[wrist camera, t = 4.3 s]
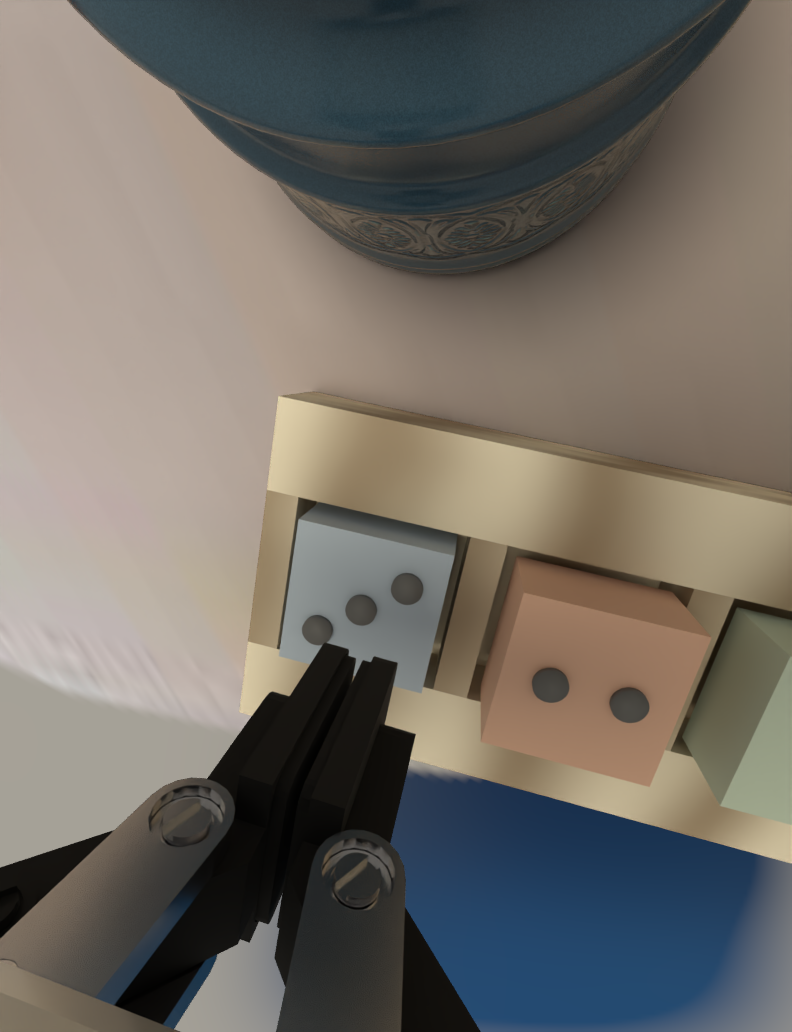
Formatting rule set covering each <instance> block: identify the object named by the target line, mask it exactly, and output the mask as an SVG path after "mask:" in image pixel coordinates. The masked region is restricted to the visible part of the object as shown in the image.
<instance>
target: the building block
mask: <svg viewBox="0 0 792 1032" xmlns="http://www.w3.org/2000/svg"><path fill="white" fill-rule="evenodd" d="M457 535H458V534H456V533H452V532H447V531H443V530H439V529H434V528H430V527H426V526H421V525H417V524H413V523H408V522H404V521H400V520H395V519H391V518H387V517H382V516H378V515H374V514H370V513H365V512H361V511H357V510H352V509H348V508H344V507H339V506H335V505H331V504H326V503H322V502H319V503H318V504H316V505H315V506H314V507H313V508H312V509H310V510H309V511H308V512H307V513H305V514H304V515H303V516H302V517H301V518H299V520H298V527H297V534H296V541H295V548H294V555H293V562H292V569H291V575H290V582H289V589H288V596H287V603H286V610H285V617H284V624H283V631H282V637H281V644H280V651H279V656H280V657H284V658H288V659H291V660H295V661H299V662H303V663H307V664H311V662H312V661H313V659H314V657H315V656H316V654H317V653H318V651H319V650H320V648H321V647H322V645H323V644H324V643H325V642H326V643H329V644H333V645H337V646H340V647H344V648H347V649H349V656H351V657H354V658H356V664H355V669H354V674H353V676H355V675H356V673H357V671H358V669H359V667H360V665H361V662H362V661H363V660H365V661H369V662H371V661H372V659H373V657H374V656H376V657H379V658H383V659H386V660H390V661H394V662H397V663H398V666H397V671H396V676H395V680H394V685H393V686H395V687H398V688H402V689H406V690H410V691H414V692H418V693H422V689H423V685H424V681H425V677H426V673H427V668H428V664H429V660H430V656H431V652H432V648H433V644H434V639H435V635H436V631H437V627H438V623H439V619H440V615H441V610H442V606H443V602H444V598H445V594H446V590H447V586H448V582H449V577H450V573H451V569H452V565H453V561H454V557H455V550H456V543H457Z"/></svg>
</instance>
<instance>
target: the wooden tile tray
mask: <svg viewBox="0 0 792 1032" xmlns="http://www.w3.org/2000/svg"><path fill="white" fill-rule="evenodd" d="M319 502H322V503H326V504H331V505H335V506H339V507H344V508H348V509H352V510H357V511H361V512H365V513H370V514H374V515H378V516H382V517H387V518H391V519H395V520H400V521H404V522H408V523H413V524H417V525H421V526H426V527H430V528H434V529H439V530H443V531H447V532H452V533H456V534H458V535H457V543H456V550H455V557H454V561H453V565H452V569H451V573H450V577H449V582H448V586H447V590H446V594H445V598H444V602H443V606H442V610H441V615H440V619H439V623H438V627H437V631H436V635H435V639H434V644H433V648H432V652H431V656H430V660H429V664H428V668H427V673H426V677H425V681H424V685H423V689H422V693H418V692H414V691H410V690H406V689H402V688H398V687H395V686H393V689H392V694H391V698H390V703H389V707H388V712H387V716H386V721H385V725H388V726H391V727H394V728H398V729H401V730H404V731H408V732H411V733H415V734H416V736H415V740H414V745H413V749H412V753H411V757H410V759H412V760H416V761H419V762H423V763H427V764H430V765H434V766H438V767H441V768H445V769H449V770H452V771H456V772H459V773H463V774H467V775H470V776H474V777H478V778H481V779H485V780H489V781H492V782H496V783H500V784H503V785H507V786H511V787H515V788H518V789H522V790H525V791H529V792H533V793H536V794H540V795H544V796H547V797H551V798H554V799H558V800H562V801H565V802H569V803H573V804H576V805H580V806H584V807H588V808H591V809H595V810H598V811H602V812H606V813H609V814H613V815H616V816H621V817H624V818H627V819H631V820H635V821H638V822H642V823H646V824H649V825H653V826H657V827H660V828H664V829H668V830H671V831H675V832H679V833H682V834H686V835H690V836H693V837H697V838H701V839H704V840H708V841H712V842H715V843H719V844H722V845H726V846H730V847H733V848H737V849H741V850H745V851H748V852H752V853H755V854H759V855H763V856H766V857H770V858H774V859H777V860H781V861H784V862H788V863H792V825H789V824H786V823H782V822H778V821H775V820H771V819H767V818H763V817H760V816H756V815H752V814H748V813H745V812H741V811H737V810H733V809H730V808H726V807H722V806H720V805H719V803H718V801H717V799H716V798H715V796H714V794H713V792H712V790H711V789H710V787H709V785H708V783H707V781H706V780H705V778H704V776H703V774H702V772H701V770H700V769H699V767H698V765H697V763H696V761H695V760H694V758H693V756H692V754H691V752H690V750H689V749H688V747H687V745H686V743H685V741H684V740H683V738H682V736H683V734H684V731H685V729H686V726H687V724H688V722H689V719H690V717H691V715H692V712H693V710H694V708H695V705H696V703H697V701H698V698H699V696H700V693H701V691H702V689H703V686H704V684H705V682H706V679H707V677H708V675H709V672H710V670H711V667H712V665H713V663H714V660H715V658H716V656H717V653H718V651H719V649H720V646H721V644H722V641H723V639H724V637H725V634H726V632H727V630H728V627H729V625H730V623H731V620H732V618H733V615H734V613H735V611H736V608H737V607H738V608H743V609H747V610H751V611H756V612H760V613H764V614H768V615H773V616H777V617H781V618H786V619H790V620H792V493H789V492H785V491H780V490H775V489H770V488H766V487H761V486H756V485H752V484H747V483H742V482H737V481H733V480H728V479H723V478H718V477H714V476H709V475H704V474H700V473H695V472H690V471H685V470H681V469H676V468H671V467H667V466H662V465H657V464H652V463H648V462H643V461H638V460H633V459H629V458H624V457H619V456H615V455H610V454H605V453H600V452H596V451H591V450H586V449H581V448H577V447H572V446H567V445H563V444H558V443H553V442H548V441H544V440H539V439H534V438H530V437H525V436H520V435H515V434H511V433H506V432H501V431H496V430H492V429H487V428H482V427H478V426H473V425H468V424H463V423H459V422H454V421H449V420H445V419H440V418H435V417H430V416H426V415H421V414H416V413H411V412H407V411H402V410H397V409H393V408H388V407H383V406H378V405H374V404H369V403H364V402H360V401H355V400H350V399H345V398H341V397H336V396H331V395H326V394H322V393H317V392H306V393H299V394H291V395H283V396H279V397H278V405H277V413H276V421H275V429H274V437H273V445H272V453H271V461H270V469H269V477H268V485H267V493H266V502H265V510H264V518H263V526H262V534H261V542H260V550H259V558H258V566H257V574H256V582H255V590H254V598H253V606H252V614H251V622H250V630H249V638H248V646H247V654H246V662H245V670H244V678H243V686H242V695H241V703H240V711H239V712H240V713H244V714H248V715H251V716H252V715H253V714H254V712H255V711H256V710H257V708H258V707H259V705H260V704H261V703H262V701H263V700H264V698H265V697H266V696H267V695H268V694H269V693H270V692H272V691H273V692H277V693H280V694H283V695H287V696H290V695H291V693H292V692H293V690H294V689H295V687H296V685H297V684H298V682H299V681H300V679H301V678H302V676H303V675H304V673H305V671H306V670H307V668H308V667H309V665H310V664H307V663H303V662H299V661H295V660H291V659H288V658H284V657H280V656H279V651H280V644H281V637H282V631H283V624H284V617H285V610H286V603H287V596H288V589H289V582H290V575H291V569H292V562H293V555H294V548H295V541H296V534H297V527H298V520H299V518H301V517H302V516H303V515H304V514H305V513H307V512H308V511H309V510H310V509H312V508H313V507H314V506H315V505H316V504H318V503H319ZM516 556H520V557H524V558H528V559H532V560H537V561H541V562H545V563H550V564H554V565H558V566H562V567H567V568H571V569H575V570H580V571H584V572H588V573H592V574H597V575H601V576H605V577H610V578H614V579H618V580H623V581H627V582H631V583H635V584H640V585H644V586H648V587H653V588H657V589H661V590H665V591H670V592H673V593H674V595H675V596H676V597H677V598H678V599H679V600H680V602H681V603H682V604H683V605H684V606H685V607H686V608H687V610H688V611H689V612H690V613H691V614H692V615H693V617H694V618H695V619H696V620H697V621H698V622H699V623H700V625H701V626H702V627H703V628H704V629H705V630H706V632H707V633H708V634H709V635H710V636H711V637H712V638H711V641H710V643H709V645H708V648H707V650H706V653H705V655H704V657H703V660H702V662H701V665H700V667H699V670H698V672H697V674H696V677H695V679H694V682H693V684H692V686H691V689H690V691H689V694H688V696H687V698H686V701H685V703H684V706H683V708H682V710H681V713H680V715H679V718H678V720H677V722H676V725H675V727H674V730H673V732H672V734H671V737H670V739H669V742H668V744H667V746H666V749H665V751H664V754H663V756H662V759H661V761H660V763H659V766H658V768H657V771H656V773H655V775H654V778H653V780H652V783H651V785H650V787H647V786H644V785H640V784H636V783H632V782H629V781H625V780H621V779H617V778H614V777H610V776H606V775H603V774H599V773H595V772H591V771H588V770H584V769H580V768H576V767H573V766H569V765H565V764H561V763H558V762H554V761H550V760H546V759H543V758H539V757H535V756H531V755H528V754H524V753H520V752H517V751H513V750H509V749H505V748H502V747H498V746H494V745H490V744H487V743H483V742H481V682H482V678H483V675H484V671H485V667H486V664H487V660H488V657H489V653H490V649H491V646H492V642H493V639H494V635H495V631H496V628H497V624H498V621H499V617H500V614H501V610H502V606H503V603H504V599H505V596H506V592H507V588H508V585H509V581H510V578H511V574H512V570H513V567H514V563H515V560H516ZM354 677H355V676H353V679H354ZM352 681H353V680H352Z"/></svg>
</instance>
